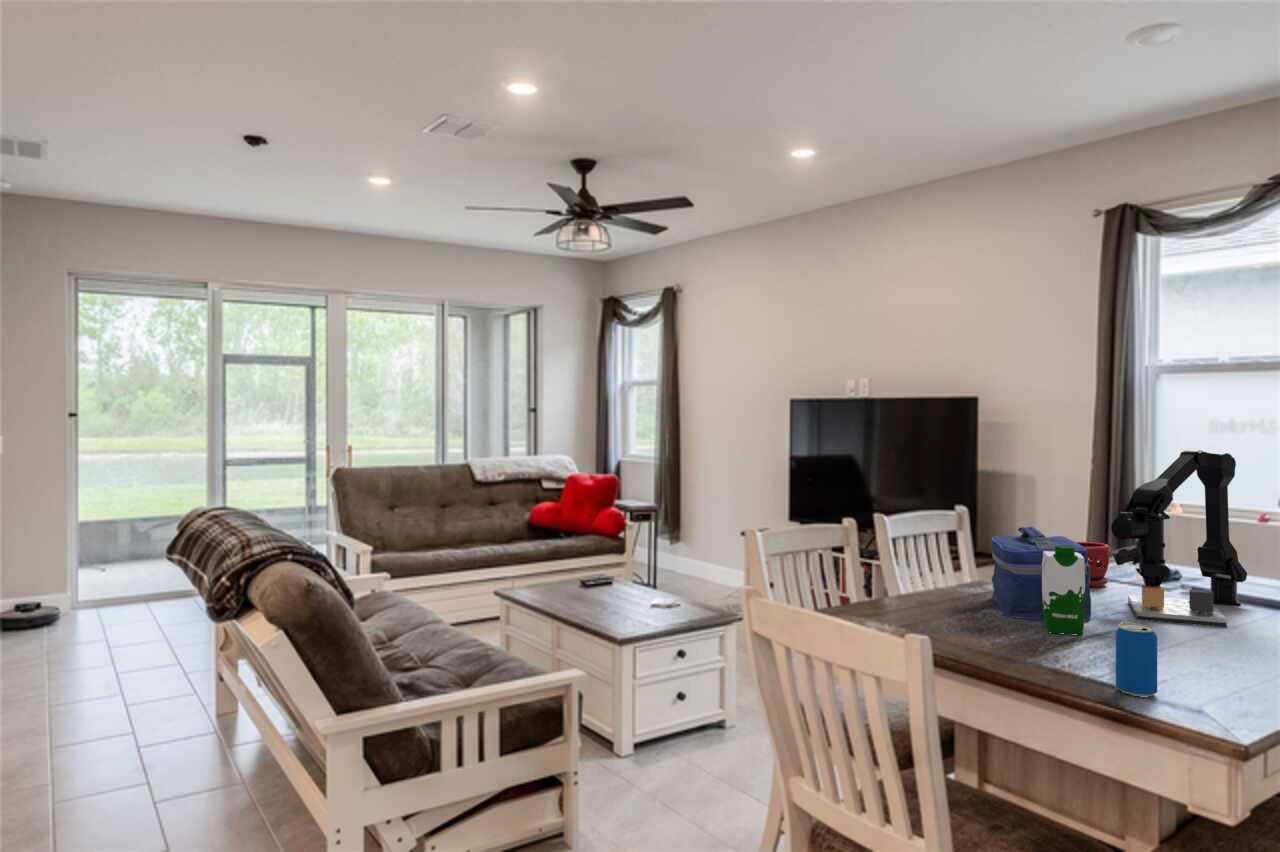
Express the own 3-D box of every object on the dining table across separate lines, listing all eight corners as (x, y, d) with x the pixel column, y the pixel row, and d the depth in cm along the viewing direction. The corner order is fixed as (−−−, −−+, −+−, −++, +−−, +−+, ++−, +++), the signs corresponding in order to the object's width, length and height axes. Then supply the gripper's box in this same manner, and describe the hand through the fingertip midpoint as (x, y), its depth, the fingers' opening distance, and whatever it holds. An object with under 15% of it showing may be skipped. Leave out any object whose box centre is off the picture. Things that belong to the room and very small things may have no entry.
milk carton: (1045, 634, 189) (1045, 547, 189) (1040, 624, 198) (1039, 541, 198) (1088, 637, 187) (1087, 549, 186) (1080, 627, 195) (1080, 543, 195)
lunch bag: (984, 593, 233) (984, 520, 232) (1066, 596, 228) (1066, 522, 228) (1006, 620, 203) (1006, 537, 202) (1100, 624, 198) (1100, 539, 197)
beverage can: (1163, 700, 146) (1163, 632, 146) (1123, 697, 147) (1123, 631, 147) (1148, 688, 152) (1148, 623, 152) (1110, 686, 154) (1110, 621, 154)
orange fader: (1141, 608, 208) (1141, 585, 208) (1162, 610, 207) (1162, 586, 207) (1143, 611, 206) (1143, 587, 206) (1164, 612, 204) (1164, 589, 204)
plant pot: (1110, 582, 245) (1110, 542, 245) (1108, 590, 234) (1108, 548, 234) (1061, 578, 252) (1061, 539, 252) (1056, 585, 241) (1056, 545, 241)
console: (1128, 602, 220) (1128, 594, 220) (1209, 608, 212) (1209, 600, 212) (1137, 619, 201) (1137, 611, 201) (1226, 627, 194) (1226, 618, 194)
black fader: (1189, 613, 203) (1189, 589, 203) (1210, 614, 202) (1210, 590, 201) (1191, 615, 201) (1191, 591, 201) (1213, 617, 199) (1213, 593, 199)
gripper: (1110, 530, 221) (1110, 588, 221) (1117, 540, 204) (1117, 603, 204) (1159, 533, 216) (1159, 592, 217) (1170, 543, 200) (1170, 607, 200)
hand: (1150, 598), depth 210 cm, fingers closed
